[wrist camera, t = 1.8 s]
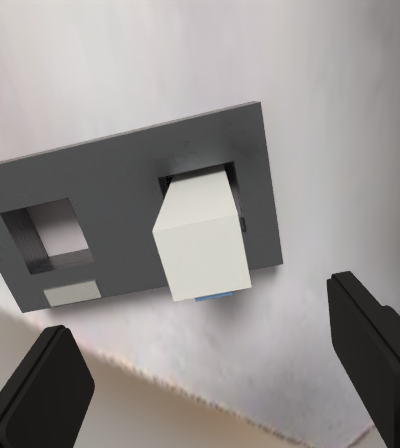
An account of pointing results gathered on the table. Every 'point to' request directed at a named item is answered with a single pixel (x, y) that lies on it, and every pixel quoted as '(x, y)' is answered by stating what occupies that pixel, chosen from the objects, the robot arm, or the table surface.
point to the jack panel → (128, 204)
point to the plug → (201, 237)
